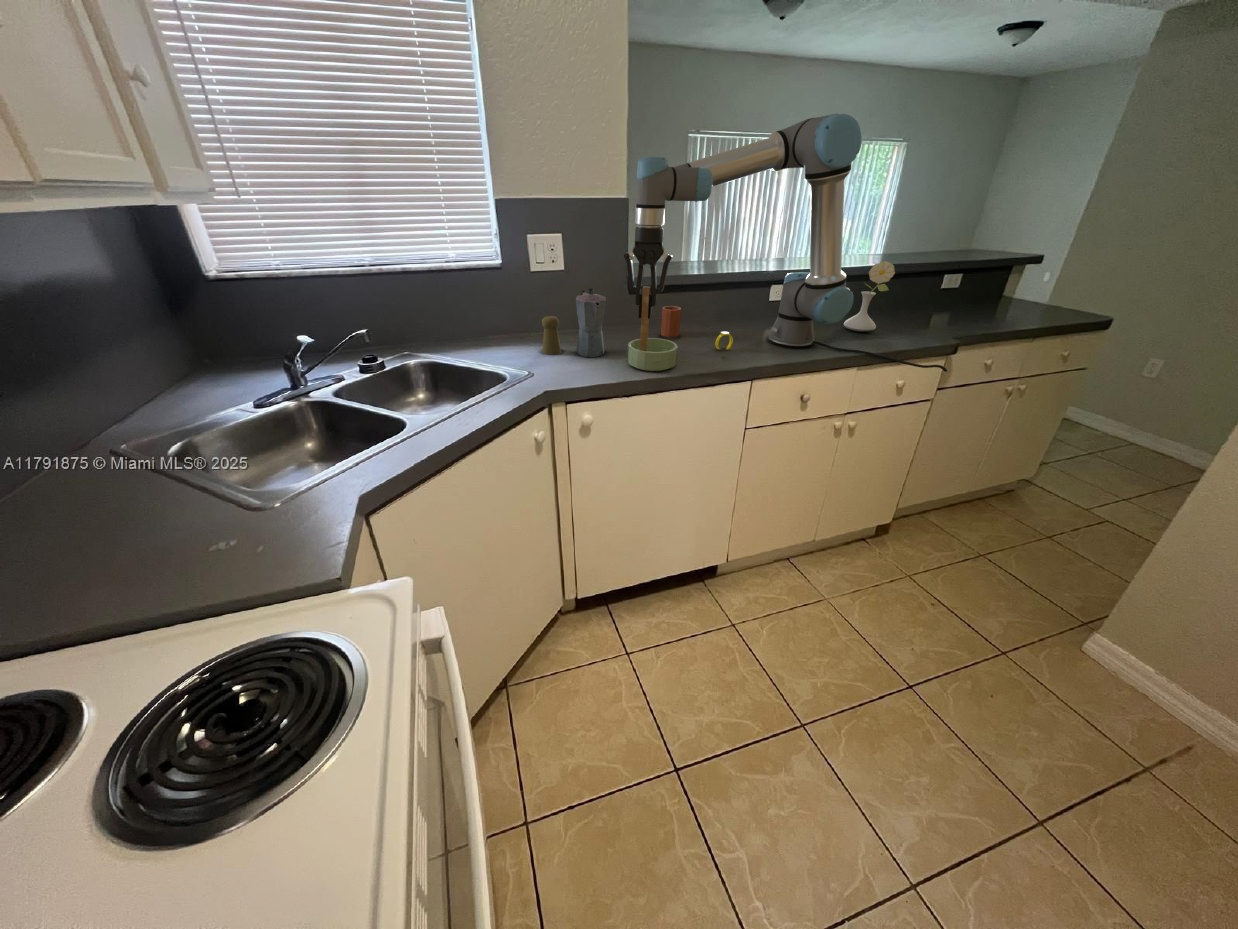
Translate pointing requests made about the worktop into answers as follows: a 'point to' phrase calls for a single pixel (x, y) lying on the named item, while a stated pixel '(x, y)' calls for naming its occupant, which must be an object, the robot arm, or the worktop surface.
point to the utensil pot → (670, 321)
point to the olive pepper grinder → (551, 336)
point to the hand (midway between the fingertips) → (645, 317)
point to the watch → (724, 335)
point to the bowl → (653, 355)
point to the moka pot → (590, 324)
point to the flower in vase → (878, 275)
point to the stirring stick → (644, 318)
